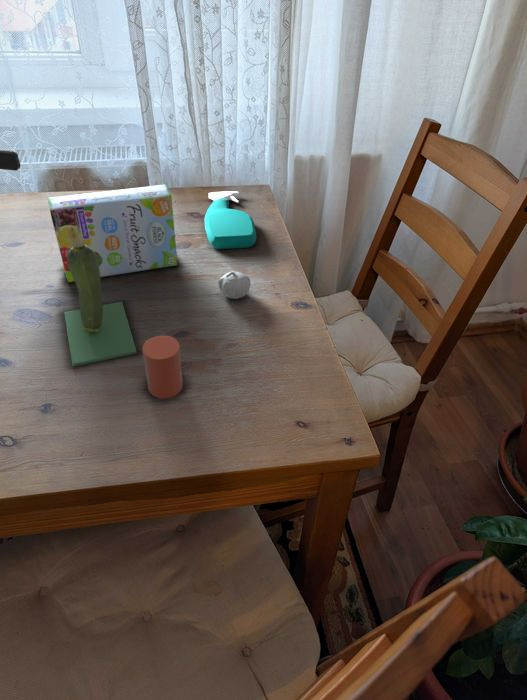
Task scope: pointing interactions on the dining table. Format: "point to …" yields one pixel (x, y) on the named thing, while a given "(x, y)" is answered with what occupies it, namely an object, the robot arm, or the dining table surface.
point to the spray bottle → (228, 223)
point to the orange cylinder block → (163, 366)
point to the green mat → (100, 336)
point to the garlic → (234, 284)
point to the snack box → (119, 228)
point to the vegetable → (86, 281)
